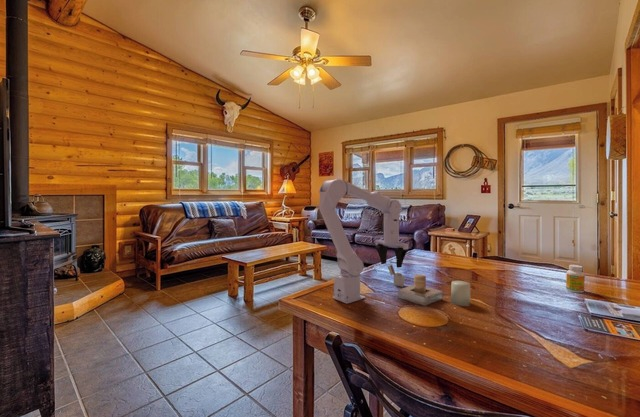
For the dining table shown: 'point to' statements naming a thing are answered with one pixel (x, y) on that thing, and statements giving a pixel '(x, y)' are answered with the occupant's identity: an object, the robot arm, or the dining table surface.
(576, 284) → the supplement bottle
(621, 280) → the dining table surface
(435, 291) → the beige square frame
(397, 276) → the lighter
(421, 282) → the oak peg
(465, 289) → the pale green rounded block
